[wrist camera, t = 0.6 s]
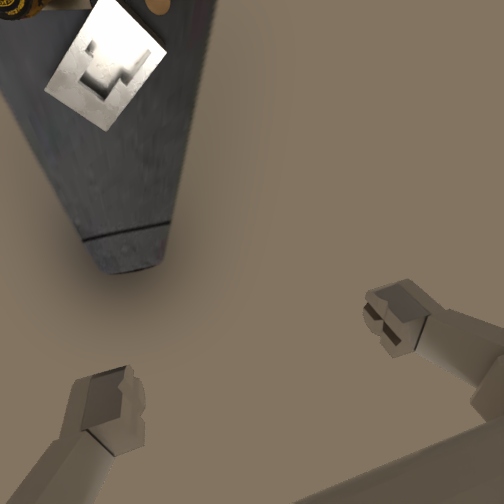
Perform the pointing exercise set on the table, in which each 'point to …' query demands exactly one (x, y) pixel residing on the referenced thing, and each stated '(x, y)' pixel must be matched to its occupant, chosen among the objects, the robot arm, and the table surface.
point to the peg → (158, 6)
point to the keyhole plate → (106, 63)
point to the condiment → (37, 7)
